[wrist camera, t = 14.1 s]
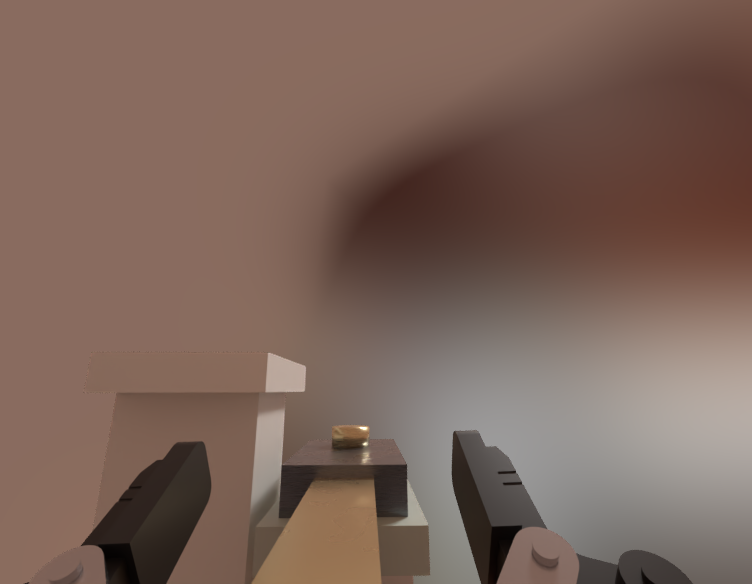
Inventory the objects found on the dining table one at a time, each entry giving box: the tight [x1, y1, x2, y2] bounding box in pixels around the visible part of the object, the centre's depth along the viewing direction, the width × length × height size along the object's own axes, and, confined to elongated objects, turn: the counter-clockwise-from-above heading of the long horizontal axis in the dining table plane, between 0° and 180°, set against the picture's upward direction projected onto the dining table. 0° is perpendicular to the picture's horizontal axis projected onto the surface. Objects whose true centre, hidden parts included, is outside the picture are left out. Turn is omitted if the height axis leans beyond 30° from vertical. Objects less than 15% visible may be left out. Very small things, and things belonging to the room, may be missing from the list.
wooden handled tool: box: [251, 425, 408, 584], centre depth 17 cm, size 6×22×4 cm, turn 1°
